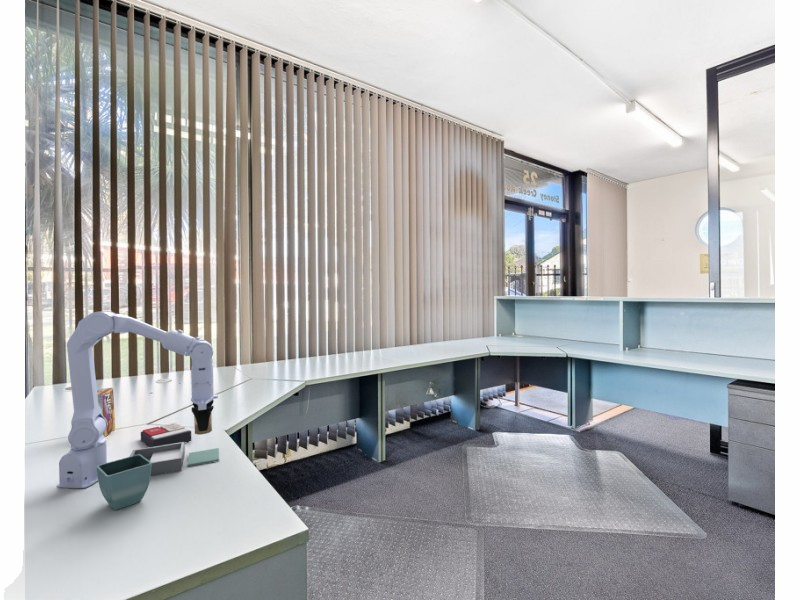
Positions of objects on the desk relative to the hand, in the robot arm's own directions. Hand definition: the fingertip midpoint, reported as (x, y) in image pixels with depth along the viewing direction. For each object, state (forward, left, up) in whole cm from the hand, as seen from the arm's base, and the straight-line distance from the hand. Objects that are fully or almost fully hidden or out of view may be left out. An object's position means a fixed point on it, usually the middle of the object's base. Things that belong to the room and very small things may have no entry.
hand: (203, 428), depth 112 cm
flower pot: (-24, +4, -9) cm, 26 cm away
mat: (0, 0, -9) cm, 9 cm away
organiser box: (-6, +10, -9) cm, 15 cm away
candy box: (+18, +47, -9) cm, 51 cm away
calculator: (+13, +21, -10) cm, 27 cm away
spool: (0, 0, -1) cm, 1 cm away
